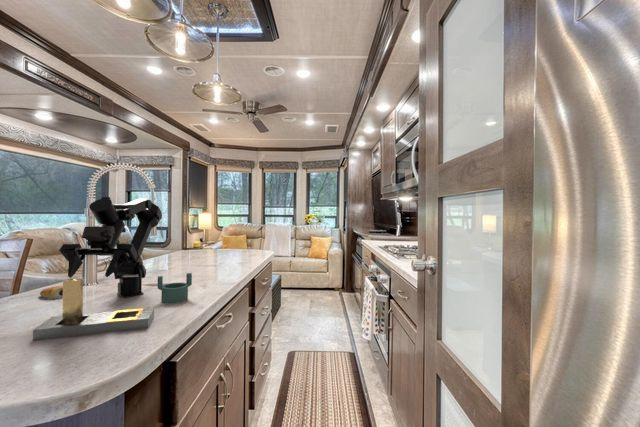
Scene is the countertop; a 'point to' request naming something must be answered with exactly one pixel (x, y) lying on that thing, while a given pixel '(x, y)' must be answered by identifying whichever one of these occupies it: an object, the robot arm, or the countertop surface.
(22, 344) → the countertop surface
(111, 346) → the countertop surface
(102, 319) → the hole rail
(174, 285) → the bracket
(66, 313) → the brass peg
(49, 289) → the pastry
